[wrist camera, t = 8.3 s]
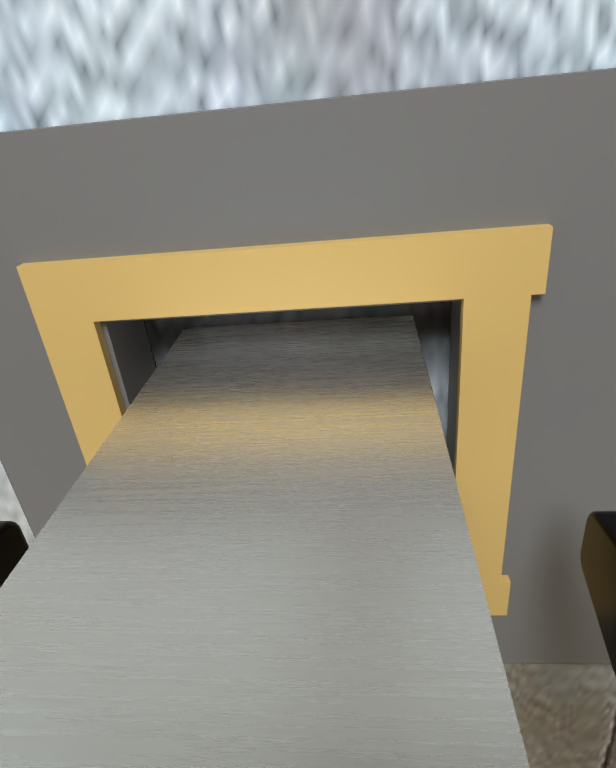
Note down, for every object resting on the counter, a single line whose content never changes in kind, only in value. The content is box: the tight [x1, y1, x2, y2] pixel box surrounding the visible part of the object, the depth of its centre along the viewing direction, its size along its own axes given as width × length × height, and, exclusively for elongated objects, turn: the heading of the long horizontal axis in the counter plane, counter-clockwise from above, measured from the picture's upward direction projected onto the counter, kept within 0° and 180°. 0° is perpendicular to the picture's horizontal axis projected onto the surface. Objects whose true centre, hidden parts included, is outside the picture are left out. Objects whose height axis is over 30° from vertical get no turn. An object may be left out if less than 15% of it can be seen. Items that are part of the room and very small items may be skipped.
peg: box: [0, 315, 530, 768], centre depth 8 cm, size 4×4×8 cm
